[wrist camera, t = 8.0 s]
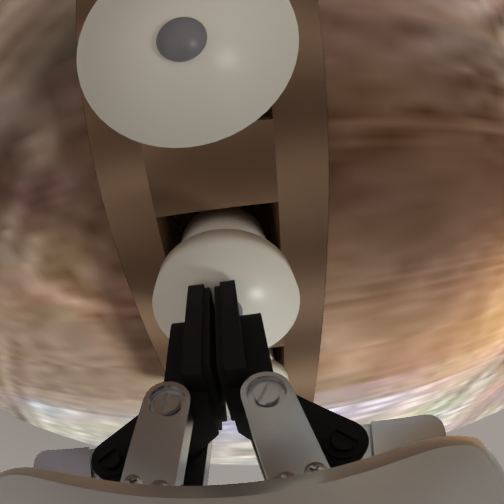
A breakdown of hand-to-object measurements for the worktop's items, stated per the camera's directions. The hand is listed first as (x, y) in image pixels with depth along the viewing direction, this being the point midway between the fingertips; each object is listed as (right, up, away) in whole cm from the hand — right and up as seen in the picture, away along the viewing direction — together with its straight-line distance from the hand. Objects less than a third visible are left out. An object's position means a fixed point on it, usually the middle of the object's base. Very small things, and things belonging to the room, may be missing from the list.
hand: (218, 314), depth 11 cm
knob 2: (0, +3, +5) cm, 5 cm away
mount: (0, +4, +7) cm, 8 cm away
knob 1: (-1, +10, -1) cm, 10 cm away
